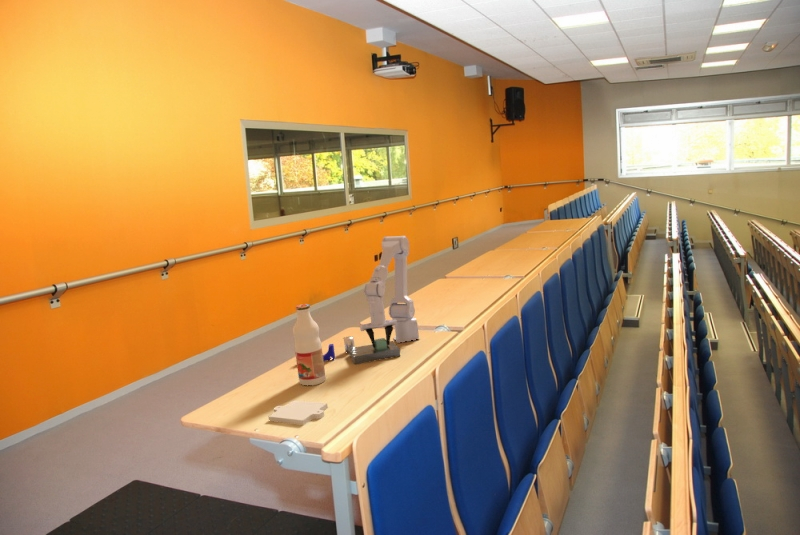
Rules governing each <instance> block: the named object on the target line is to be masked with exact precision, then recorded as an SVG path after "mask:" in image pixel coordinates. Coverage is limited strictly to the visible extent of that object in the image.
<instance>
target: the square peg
mask: <svg viewBox="0 0 800 535" xmlns="http://www.w3.org/2000/svg"><path fill="white" fill-rule="evenodd" d="M374 341H375V350H381V349H387V342H386V337H382V338H374Z"/></svg>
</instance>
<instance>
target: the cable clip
mask: <svg viewBox="0 0 800 535" xmlns="http://www.w3.org/2000/svg"><path fill="white" fill-rule="evenodd" d="M331 358H333V359H332V361H335V360H334V359H336V354H335V345H334V343H329V345H328V350H327V352H326V353H325V354H323V361H324V362H327V360H330V359H331Z"/></svg>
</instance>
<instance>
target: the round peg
mask: <svg viewBox="0 0 800 535" xmlns="http://www.w3.org/2000/svg"><path fill="white" fill-rule="evenodd" d="M354 338H355V337H354V336H350V335H349V336H345V337H344V338H343V343H344V350H345V351H344V352H347V353H346V354H350V353H349V348H354V347H356V346H355V340H354Z"/></svg>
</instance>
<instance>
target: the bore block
mask: <svg viewBox="0 0 800 535" xmlns="http://www.w3.org/2000/svg"><path fill="white" fill-rule="evenodd" d="M400 351H401V349H400V347H398V345H397V344H396V343H395V342H394V340H390V343H389V345H387V349H381V350H375V347H373V345H372V344H368V345H361V346H355V347H354V348H349V353H348V354H349V357H350V356H351V357H350V359H351V358H352V359H351V361H352V362H353V364H354V365H359V364H364V362H365V363H370V362H369V361H371V362H375V361H374V360H376V361H380V360H379V359H382V360H386V359H385V358H388V359H392V358H391V357H393V358H397V357H396V356H399V357H401V352H400Z"/></svg>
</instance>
